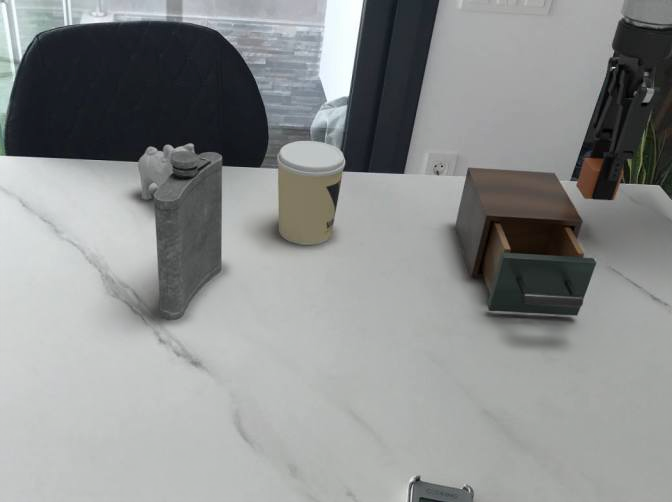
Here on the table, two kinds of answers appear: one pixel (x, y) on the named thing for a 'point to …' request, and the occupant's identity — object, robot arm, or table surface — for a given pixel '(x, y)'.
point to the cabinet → (508, 207)
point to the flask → (188, 229)
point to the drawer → (535, 268)
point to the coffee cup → (308, 190)
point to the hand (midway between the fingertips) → (596, 190)
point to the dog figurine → (157, 166)
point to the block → (591, 177)
